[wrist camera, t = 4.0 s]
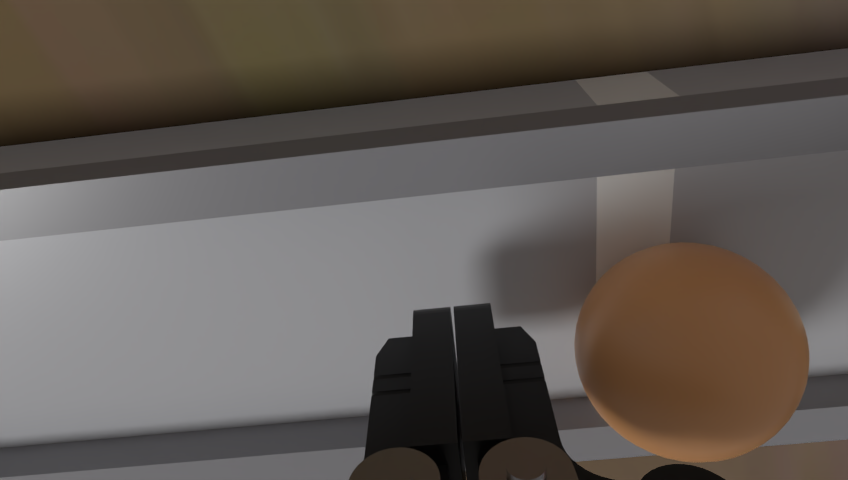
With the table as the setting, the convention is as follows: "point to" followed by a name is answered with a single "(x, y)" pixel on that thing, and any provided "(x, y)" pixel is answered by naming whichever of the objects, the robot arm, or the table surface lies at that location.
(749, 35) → the table surface
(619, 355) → the ball
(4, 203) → the lane
